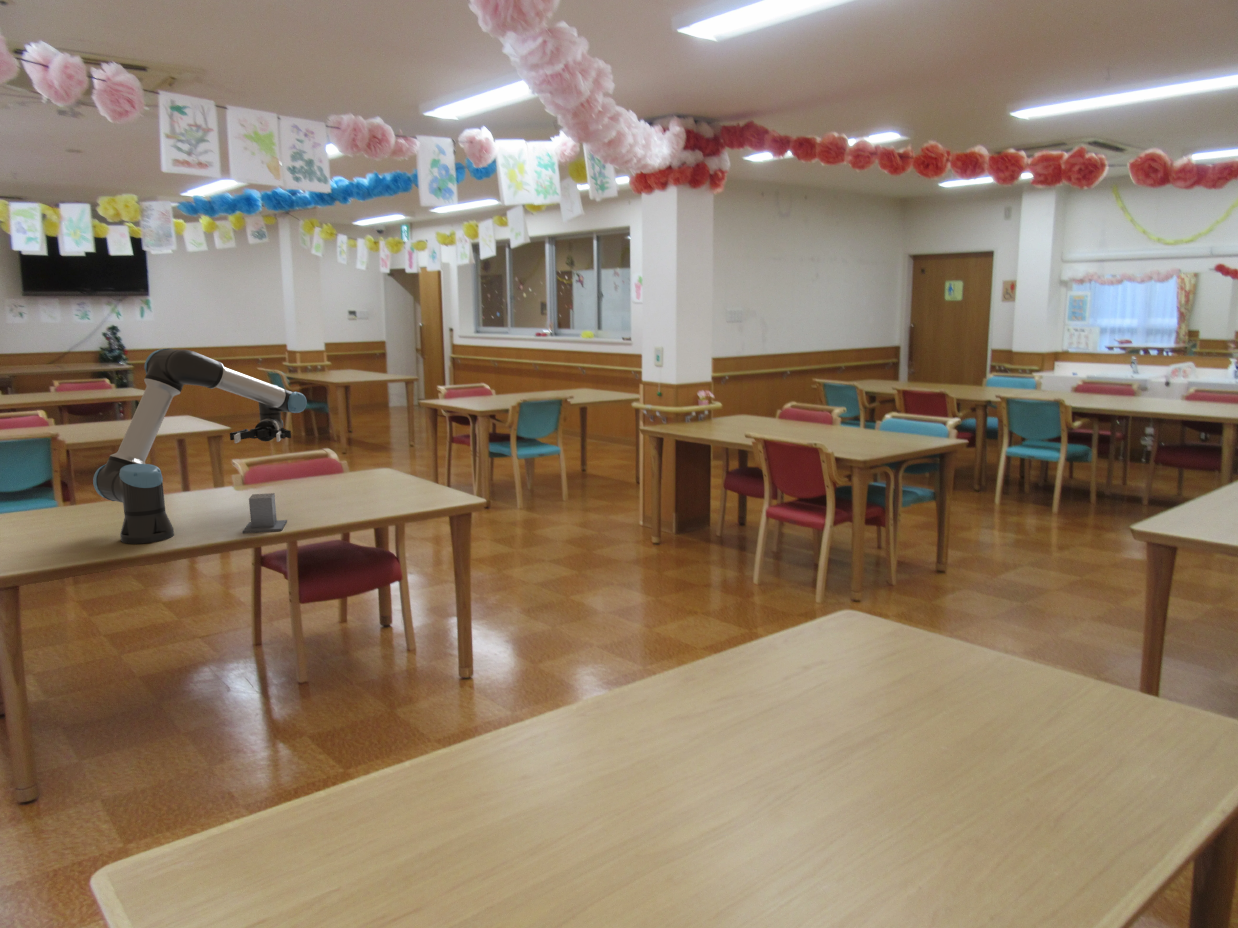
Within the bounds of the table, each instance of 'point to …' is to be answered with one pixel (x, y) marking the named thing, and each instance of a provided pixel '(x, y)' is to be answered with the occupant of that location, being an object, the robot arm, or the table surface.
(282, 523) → the base plate
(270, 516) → the grey upright block
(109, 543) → the table surface
